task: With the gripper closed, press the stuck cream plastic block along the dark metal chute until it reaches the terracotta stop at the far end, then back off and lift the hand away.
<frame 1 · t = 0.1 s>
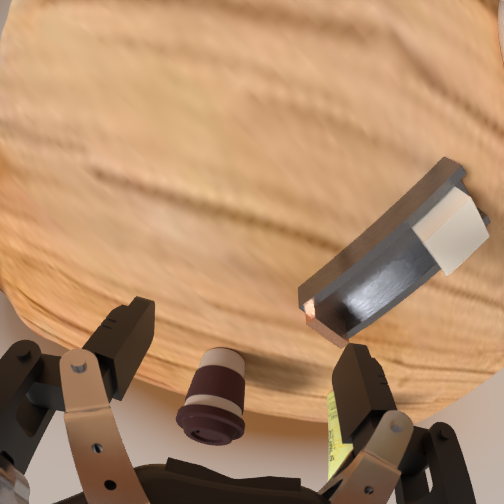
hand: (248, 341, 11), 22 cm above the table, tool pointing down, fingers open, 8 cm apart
tube: (340, 393, 49), on the table
coffee cup: (224, 359, 46), on the table
chute: (392, 248, 33), on the table
block: (447, 226, 26), point 4 cm above the table, slide at 0.0 cm
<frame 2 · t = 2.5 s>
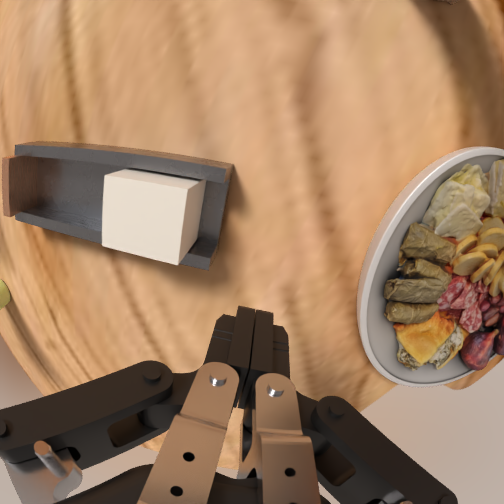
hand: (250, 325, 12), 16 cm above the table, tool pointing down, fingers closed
tube: (4, 289, 35), on the table
bowl: (459, 269, 28), on the table
chute: (111, 188, 27), on the table
block: (154, 209, 23), point 4 cm above the table, slide at 0.0 cm
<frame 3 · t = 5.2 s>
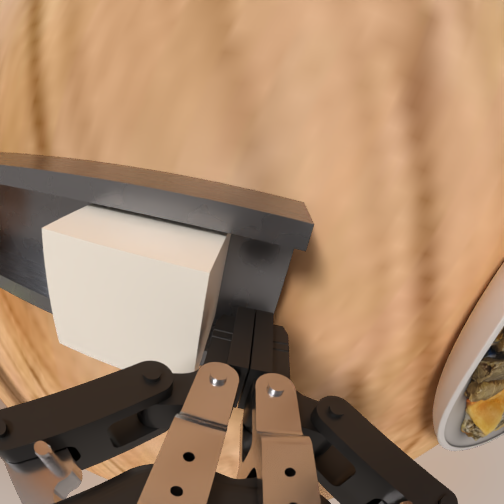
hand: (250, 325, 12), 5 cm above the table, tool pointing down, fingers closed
chute: (91, 230, 16), on the table
block: (142, 282, 13), point 4 cm above the table, slide at 1.4 cm, touching gripper
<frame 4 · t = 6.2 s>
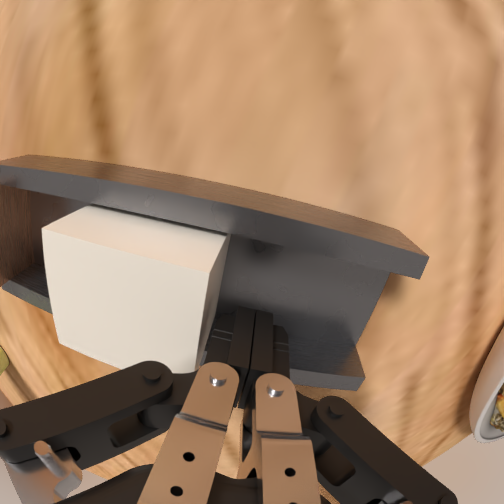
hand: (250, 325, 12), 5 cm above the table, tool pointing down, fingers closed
chute: (173, 250, 17), on the table
block: (142, 282, 13), point 4 cm above the table, slide at 7.2 cm, touching gripper
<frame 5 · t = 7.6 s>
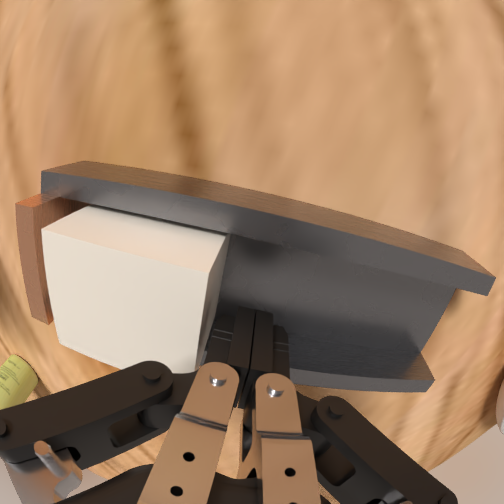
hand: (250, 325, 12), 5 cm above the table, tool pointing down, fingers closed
tube: (26, 368, 25), on the table
chute: (267, 272, 17), on the table
block: (141, 282, 13), point 4 cm above the table, slide at 12.9 cm, touching gripper
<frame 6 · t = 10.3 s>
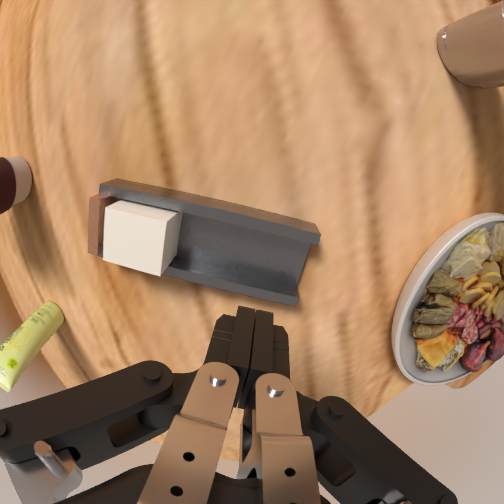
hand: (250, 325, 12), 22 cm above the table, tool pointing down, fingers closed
tube: (56, 312, 41), on the table
bowl: (462, 296, 36), on the table
coffee cup: (20, 178, 32), on the table
chute: (203, 233, 34), on the table
block: (143, 232, 30), point 4 cm above the table, slide at 13.2 cm
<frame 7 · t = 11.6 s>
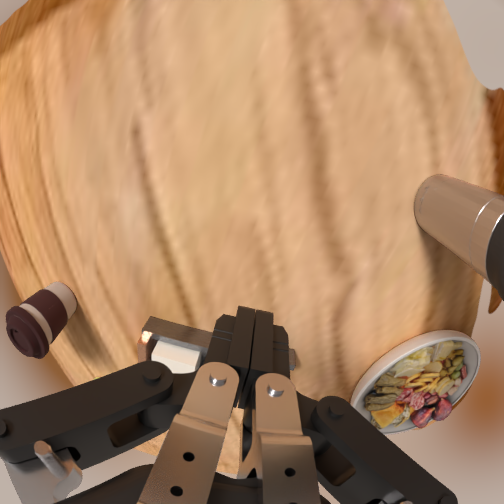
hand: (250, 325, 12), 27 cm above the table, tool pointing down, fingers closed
bowl: (413, 377, 49), on the table
coffee cup: (64, 296, 47), on the table
chute: (217, 353, 48), on the table
block: (177, 360, 44), point 4 cm above the table, slide at 13.2 cm
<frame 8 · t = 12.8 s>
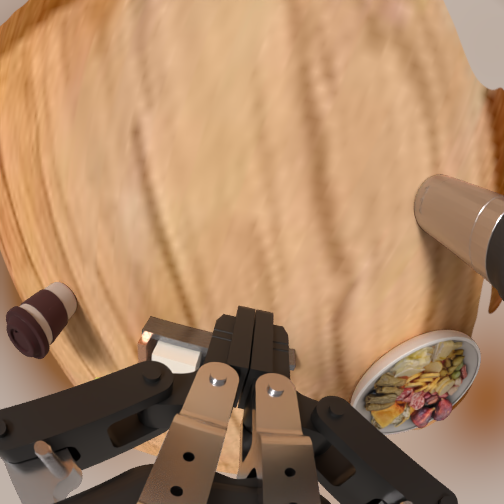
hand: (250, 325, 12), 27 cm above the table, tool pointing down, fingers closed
bowl: (413, 377, 49), on the table
coffee cup: (64, 296, 47), on the table
chute: (217, 353, 48), on the table
block: (177, 360, 44), point 4 cm above the table, slide at 13.2 cm
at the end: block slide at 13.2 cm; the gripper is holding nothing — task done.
